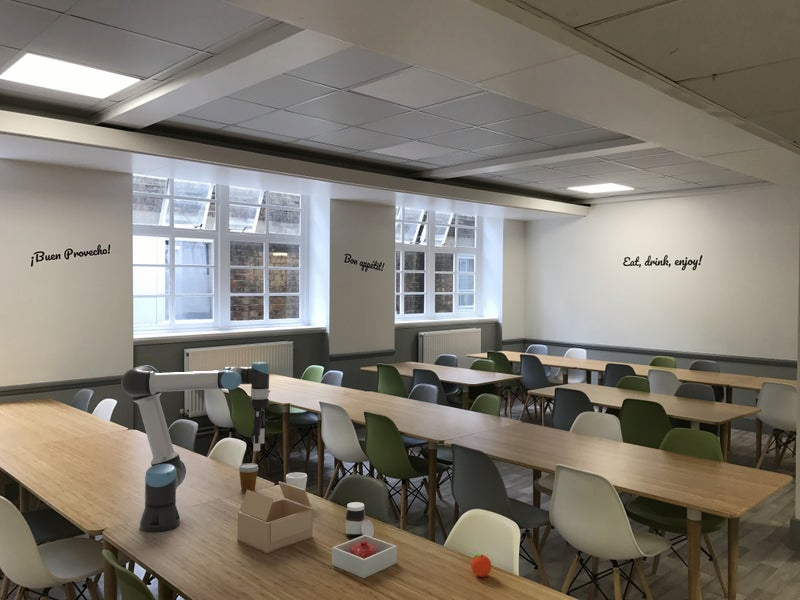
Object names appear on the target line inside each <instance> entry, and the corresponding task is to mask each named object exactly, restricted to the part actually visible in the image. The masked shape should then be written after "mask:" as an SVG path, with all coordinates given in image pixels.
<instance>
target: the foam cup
mask: <svg viewBox="0 0 800 600" xmlns="http://www.w3.org/2000/svg"><path fill="white" fill-rule="evenodd" d="M307 482H308V475H307V473H305V472H290V473H287V474H286V475H285V483H286V484H289V485H293V486H296V487H299V488H302V489H305V490H306V488H307V487H306V486H307ZM288 500H289V499H288ZM289 501H292V500H289ZM292 502H295V501H292ZM295 503H298V502H295ZM298 504H300V503H298ZM300 505H303V504H300ZM303 506H304V505H303Z"/></svg>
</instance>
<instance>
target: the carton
mask: <svg viewBox="0 0 800 600" xmlns="http://www.w3.org/2000/svg"><path fill="white" fill-rule="evenodd" d="M313 518H314V508H312V507H309V506H306V505H300V504H298V503H295V502H292V501H289V499H286V498H281V499H278V500H273V503H272V506H271V509H270V512H269V514H268V517H267V520H266V521H265V520H262V519H260V518H257V517H255V516H252V515H250V514H247V513H244V512H242V511H239V510H238V511H237V537H236V538H237V541H238V542H240V543H241V544H244V545H247V546H248V547H251V548H254V549H255V550H257V551H260V552H262V553H265V554H269V553H273V552H276V551H278V550H281V549H283V548H286V547H289V546H291V545H295V544H297V543H299V542H303V541H305V540H308V539H311V538H313V527H314V525H313V523H314V519H313Z"/></svg>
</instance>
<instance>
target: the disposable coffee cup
mask: <svg viewBox="0 0 800 600" xmlns="http://www.w3.org/2000/svg"><path fill="white" fill-rule="evenodd" d="M238 471H239V478H240V479H239V480H240V489H241V492H242V493H246V491H247V490H250V491H253V492H255V491H256V484H257V478H258V477H257V476H258V471H259V466H258V464H257V463H254V462H253V463H250V462H249V463H242V464H240V465H239V466H238Z"/></svg>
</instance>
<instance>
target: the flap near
mask: <svg viewBox="0 0 800 600" xmlns="http://www.w3.org/2000/svg"><path fill="white" fill-rule="evenodd" d="M274 501H275V499H274V497H273V498H272V497H269V496H268V495H267V496H266V495H264V494H261V493H258V492H255V491H250V490H247V491H246V492H245V494H244V497H243V499H242V503H241V505H240V507H239V509H238V512H239V511H242V512H244V513H247V514H250V515H252V516H255V517H257V518H260V519H262V520H265V521H266V520H267V517H268V514H269V512H270V509H271V506H272V503H273V502H274Z"/></svg>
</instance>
